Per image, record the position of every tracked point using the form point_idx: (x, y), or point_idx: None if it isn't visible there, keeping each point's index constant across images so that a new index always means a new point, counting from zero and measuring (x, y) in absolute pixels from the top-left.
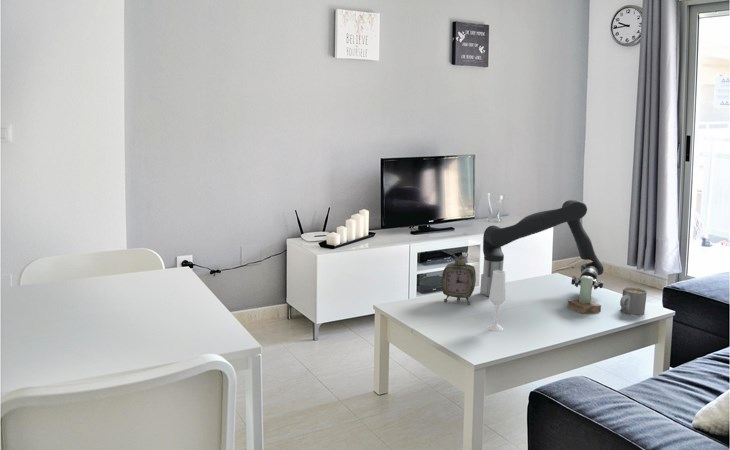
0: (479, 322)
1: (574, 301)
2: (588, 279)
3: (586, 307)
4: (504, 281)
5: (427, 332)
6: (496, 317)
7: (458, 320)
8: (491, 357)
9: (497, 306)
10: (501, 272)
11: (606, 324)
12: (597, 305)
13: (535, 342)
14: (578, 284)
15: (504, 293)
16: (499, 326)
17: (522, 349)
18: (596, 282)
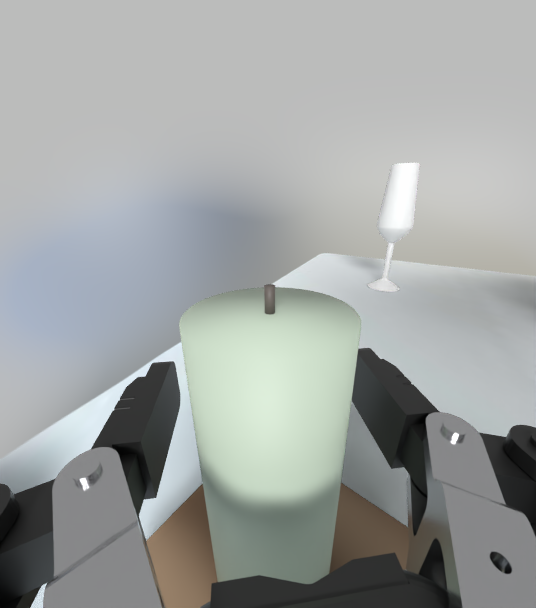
0: (427, 291)
1: (365, 545)
2: (240, 293)
3: None
4: (387, 185)
5: (426, 264)
6: (384, 264)
7: (458, 287)
8: (317, 257)
9: (388, 242)
10: (409, 167)
11: None
12: (151, 543)
13: (296, 278)
14: (410, 491)
15: (380, 212)
16: (376, 281)
17: (300, 267)
18: (103, 460)
